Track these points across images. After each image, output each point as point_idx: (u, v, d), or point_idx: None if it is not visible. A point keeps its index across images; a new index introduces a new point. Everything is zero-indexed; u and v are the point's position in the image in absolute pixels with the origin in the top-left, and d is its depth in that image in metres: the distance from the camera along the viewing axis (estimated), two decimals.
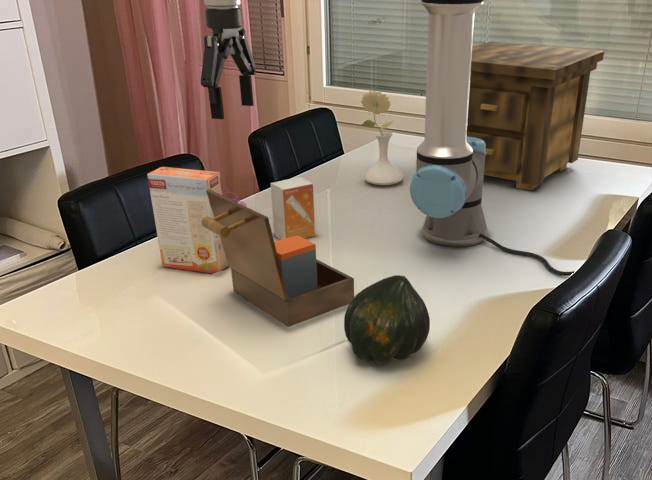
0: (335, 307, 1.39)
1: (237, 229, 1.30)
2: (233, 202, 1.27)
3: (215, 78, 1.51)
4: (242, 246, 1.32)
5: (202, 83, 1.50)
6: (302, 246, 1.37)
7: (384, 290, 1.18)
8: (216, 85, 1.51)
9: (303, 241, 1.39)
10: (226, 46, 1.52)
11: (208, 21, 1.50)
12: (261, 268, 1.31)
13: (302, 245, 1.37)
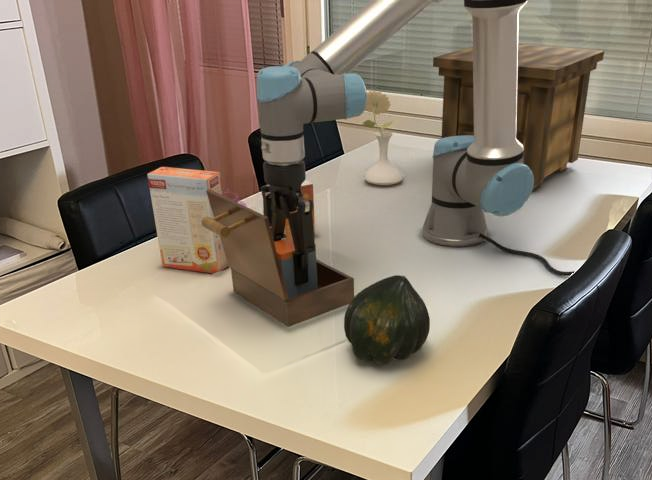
0: (335, 307, 1.39)
1: (237, 229, 1.30)
2: (233, 202, 1.27)
3: None
4: (242, 246, 1.32)
5: (306, 252, 1.33)
6: None
7: (384, 290, 1.18)
8: None
9: None
10: None
11: (286, 179, 1.27)
12: (261, 268, 1.31)
13: None
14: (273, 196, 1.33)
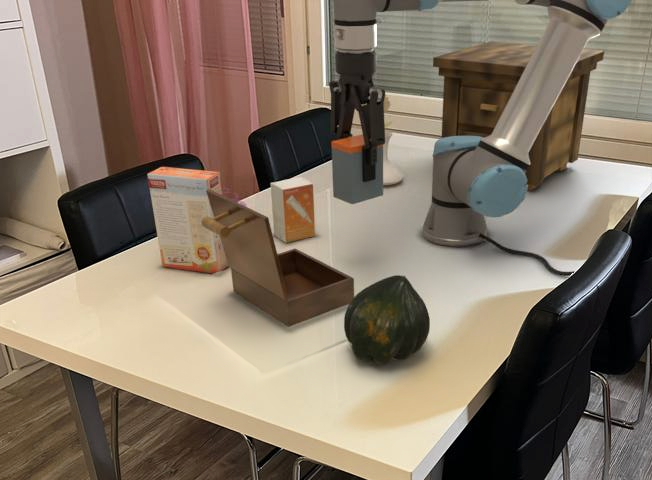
0: (335, 307, 1.39)
1: (237, 229, 1.30)
2: (233, 202, 1.27)
3: None
4: (242, 246, 1.32)
5: (376, 145, 1.33)
6: None
7: (384, 290, 1.18)
8: None
9: None
10: None
11: (359, 68, 1.28)
12: (261, 268, 1.31)
13: None
14: (343, 88, 1.33)
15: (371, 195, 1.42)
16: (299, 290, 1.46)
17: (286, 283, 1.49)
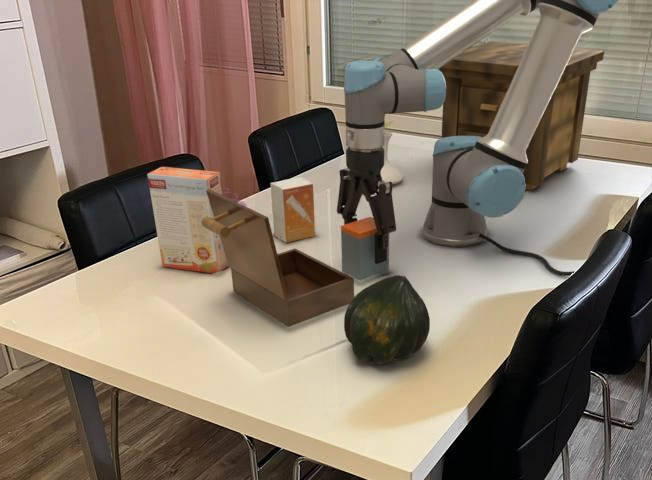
0: (335, 307, 1.39)
1: (237, 229, 1.30)
2: (233, 202, 1.27)
3: None
4: (242, 246, 1.32)
5: (388, 232, 1.42)
6: None
7: (384, 290, 1.18)
8: None
9: None
10: None
11: (368, 165, 1.38)
12: (261, 268, 1.31)
13: None
14: (353, 181, 1.43)
15: None
16: (299, 290, 1.46)
17: (286, 283, 1.49)
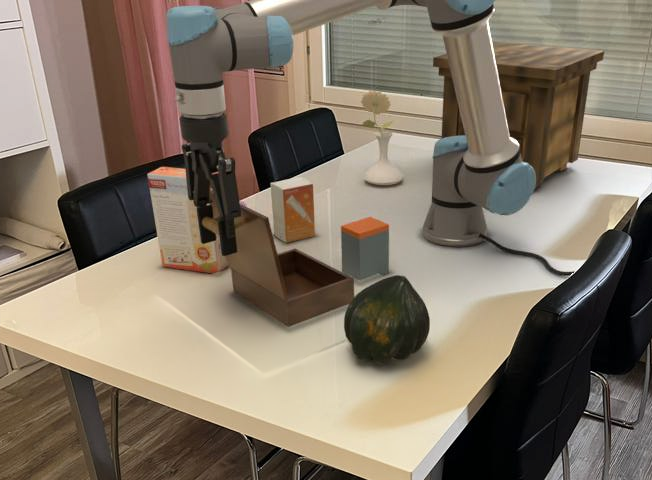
0: (335, 307, 1.39)
1: (237, 229, 1.30)
2: None
3: None
4: (242, 246, 1.32)
5: (230, 218, 1.19)
6: (377, 226, 1.48)
7: (384, 290, 1.18)
8: None
9: (377, 222, 1.50)
10: None
11: (204, 135, 1.14)
12: (261, 268, 1.31)
13: (377, 226, 1.48)
14: (193, 155, 1.19)
15: None
16: (299, 290, 1.46)
17: (286, 283, 1.49)
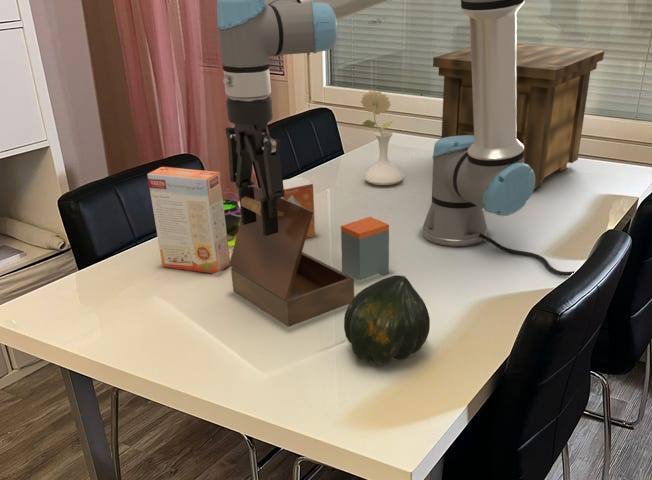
0: (335, 307, 1.39)
1: None
2: None
3: None
4: (262, 241, 1.35)
5: (274, 198, 1.23)
6: (377, 226, 1.48)
7: (384, 290, 1.18)
8: None
9: (377, 222, 1.50)
10: None
11: (250, 117, 1.18)
12: (274, 264, 1.32)
13: (377, 226, 1.48)
14: (238, 137, 1.23)
15: None
16: (299, 290, 1.46)
17: None
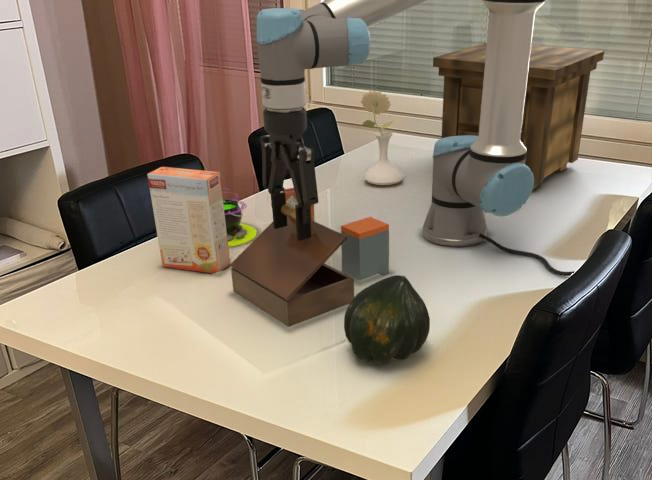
0: (335, 307, 1.39)
1: (291, 238, 1.39)
2: None
3: None
4: (279, 251, 1.38)
5: (309, 204, 1.28)
6: (377, 226, 1.48)
7: (384, 290, 1.18)
8: None
9: (377, 222, 1.50)
10: None
11: (287, 127, 1.23)
12: (285, 269, 1.34)
13: (377, 226, 1.48)
14: (273, 146, 1.28)
15: None
16: (299, 290, 1.46)
17: None
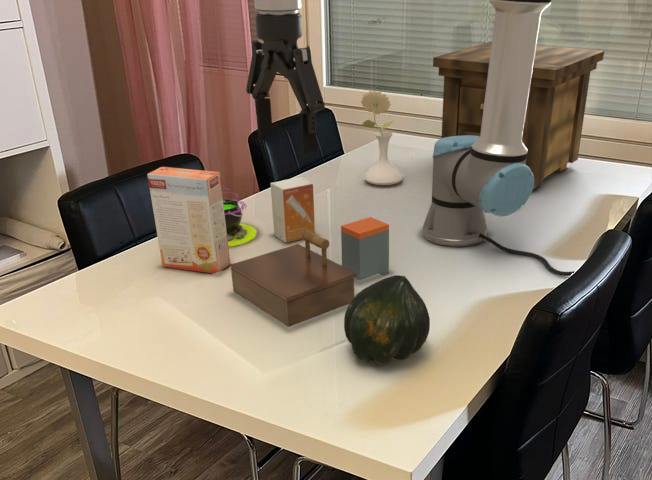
0: (335, 307, 1.39)
1: (300, 262, 1.43)
2: None
3: None
4: (286, 267, 1.41)
5: (315, 108, 1.17)
6: (377, 226, 1.48)
7: (384, 290, 1.18)
8: None
9: (377, 222, 1.50)
10: None
11: (280, 31, 1.15)
12: (290, 280, 1.36)
13: (377, 226, 1.48)
14: (266, 55, 1.20)
15: None
16: None
17: None
